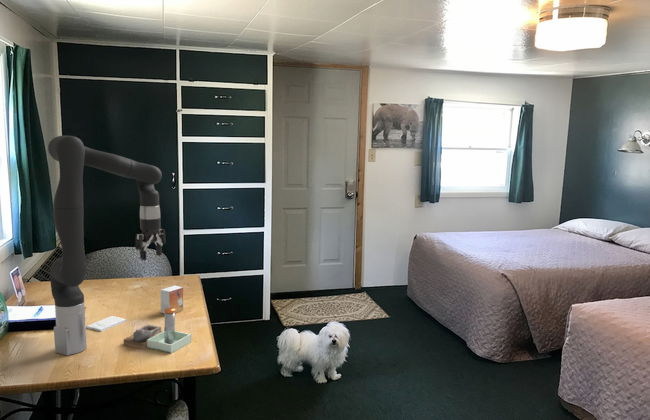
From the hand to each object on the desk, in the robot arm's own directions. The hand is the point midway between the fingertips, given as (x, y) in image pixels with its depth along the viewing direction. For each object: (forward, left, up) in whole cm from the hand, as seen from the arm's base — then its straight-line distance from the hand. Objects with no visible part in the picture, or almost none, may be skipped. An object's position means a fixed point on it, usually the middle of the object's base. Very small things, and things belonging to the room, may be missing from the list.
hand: (151, 257), depth 200 cm
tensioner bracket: (-13, -8, -28) cm, 32 cm away
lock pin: (-12, -18, -28) cm, 35 cm away
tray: (-12, -18, -28) cm, 35 cm away
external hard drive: (-7, +18, -29) cm, 35 cm away
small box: (+16, +4, -28) cm, 33 cm away
